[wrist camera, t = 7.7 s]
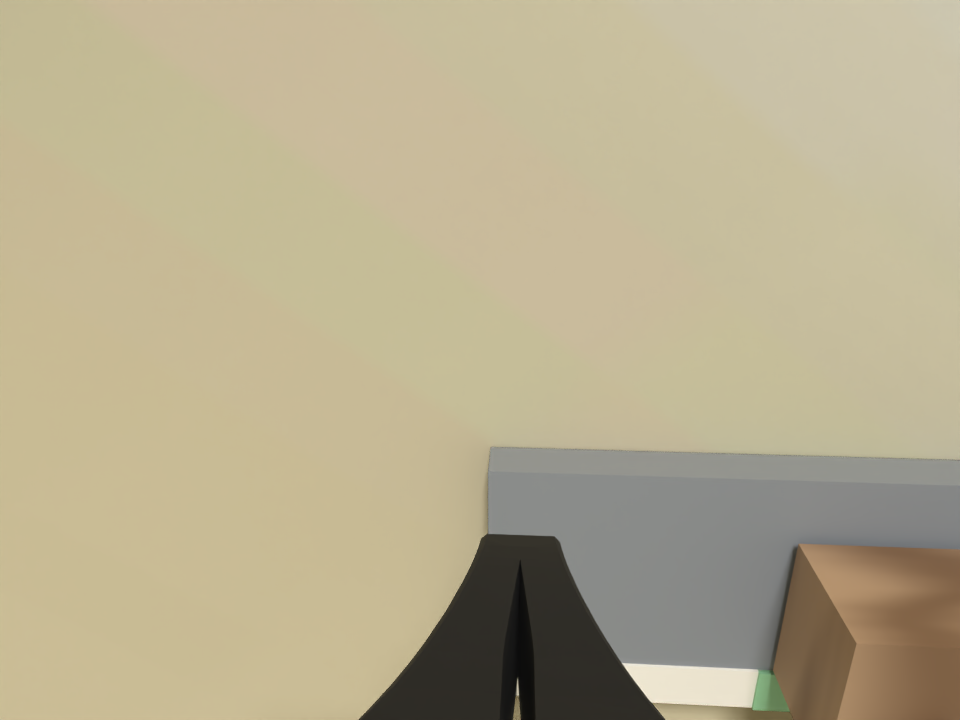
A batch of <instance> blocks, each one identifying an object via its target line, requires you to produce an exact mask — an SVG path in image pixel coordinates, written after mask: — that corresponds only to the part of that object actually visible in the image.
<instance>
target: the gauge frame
mask: <svg viewBox="0 0 960 720" xmlns="http://www.w3.org/2000/svg"><path fill="white" fill-rule="evenodd" d="M488 534H507V535H535V536H555V537H556V538H557V539H558V540H559V541H560V544H561V548H562V551H563V554H564V557H565V560H566V562H567V565H568V567H569V570H570V572H571V574H572V576H573V579H574V581H575V583H576V585H577V587H578V589H579V591H580V593H581V595H582V597H583V599H584V601H585V603H586V605H587V607H588V608H589V610H590V612H591V614H592V616H593V618H594V619H595V621H596V623H597V625H598V626H599V628H600V630H601V631H602V633H603V635H604V636H605V638H606V640H607V641H608V643H609V644H610V646H611V647H612V649H613V650H614V652H615V654H616V655H617V657H618V658H619V660H620V661H621V663H622V664H623V665H624V667H625V668H626V670H627V671H628V673H629V674H630V675H631V677H632V678H633V680H634V681H635V682H636V683H637V685H638V686H639V687H640V689H641V690H642V691H643V693H644V694H645V695H646V697H647V698H648V699H649V700H650V702H651V703H670V704H690V705H710V706H730V707H750V708H752V710H762V711H781V712H790V710H789V708H788V705H787V703H786V701H785V698H784V696H783V693H782V691H781V688H780V686H779V684H778V681H777V679H776V676H775V674H774V672H773V668H774V663H775V658H776V653H777V648H778V643H779V638H780V633H781V628H782V623H783V618H784V613H785V608H786V603H787V598H788V593H789V588H790V583H791V578H792V573H793V568H794V563H795V559H796V554H797V549H798V544H821V545H849V546H877V547H905V548H933V549H960V460H933V459H897V458H862V457H826V456H791V455H755V454H719V453H684V452H648V451H613V450H577V449H542V448H506V447H491V449H490V459H489V468H488ZM516 696H519V688H518V679H517V688H516Z"/></svg>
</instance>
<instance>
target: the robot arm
mask: <svg viewBox="0 0 960 720" xmlns="http://www.w3.org/2000/svg"><path fill="white" fill-rule="evenodd" d="M517 679H518V688H519V701H520V714H521V720H665V719H664V717H663V716H662V715H661V714H660V713H659V711H658V710H657V709H656V708H655V706H654V705H653V704H652V703H651V702H650V700H649V699H648V698H647V697H646V695H645V694H644V693H643V691H642V690H641V689H640V687H639V686H638V685H637V683H636V682H635V681H634V680H633V678H632V677H631V675H630V674H629V673H628V671H627V670H626V668H625V667H624V665H623V664H622V663H621V661H620V660H619V658H618V657H617V655H616V654H615V652H614V650H613V649H612V647H611V646H610V644H609V643H608V641H607V640H606V638H605V636H604V635H603V633H602V631H601V630H600V628H599V626H598V625H597V623H596V621H595V619H594V618H593V616H592V614H591V612H590V610H589V608H588V607H587V605H586V603H585V601H584V599H583V597H582V595H581V593H580V591H579V589H578V587H577V585H576V583H575V581H574V579H573V576H572V574H571V572H570V570H569V567H568V565H567V562H566V560H565V557H564V554H563V551H562V548H561V544H560V541H559V540H558V539H557V538H556V537H555V536H535V535H507V534H486V535H485V536H484V537H483V538H482V539H481V541H480V544H479V548H478V550H477V553H476V555H475V558H474V560H473V562H472V564H471V567H470V569H469V571H468V573H467V575H466V577H465V579H464V581H463V582H462V584H461V586H460V588H459V589H458V591H457V593H456V595H455V596H454V598H453V600H452V602H451V603H450V605H449V607H448V608H447V610H446V612H445V613H444V615H443V616H442V618H441V619H440V621H439V622H438V624H437V625H436V627H435V628H434V630H433V631H432V633H431V634H430V636H429V637H428V639H427V640H426V642H425V643H424V644H423V646H422V647H421V648H420V650H419V651H418V652H417V654H416V655H415V656H414V658H413V659H412V660H411V661H410V663H409V664H408V665H407V667H406V668H405V669H404V670H403V671H402V673H401V674H400V675H399V676H398V677H397V679H396V680H395V681H394V682H393V683H392V684H391V686H390V687H389V688H388V689H387V690H386V691H385V692H384V693H383V694H382V695H381V696H380V698H379V699H378V700H377V701H376V702H375V703H374V704H373V705H372V706H371V707H370V708H369V709H368V711H367V712H366V713H365V714H364V715H363V716H362V717H361V718H360V719H359V720H513V713H514V705H515V696H516V688H517Z"/></svg>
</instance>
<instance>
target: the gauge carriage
mask: <svg viewBox="0 0 960 720" xmlns="http://www.w3.org/2000/svg"><path fill="white" fill-rule="evenodd" d="M773 672H774V674H775V676H776V679H777V681H778V684H779V686H780V688H781V691H782V693H783V696H784V698H785V701H786V703H787V705H788V708H789V710H790V713H791V715H792V717H793V720H960V549H933V548H905V547H877V546H849V545H821V544H798V549H797V554H796V559H795V563H794V568H793V573H792V578H791V583H790V588H789V593H788V598H787V603H786V608H785V613H784V618H783V623H782V628H781V633H780V638H779V643H778V648H777V653H776V658H775V663H774V668H773Z"/></svg>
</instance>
